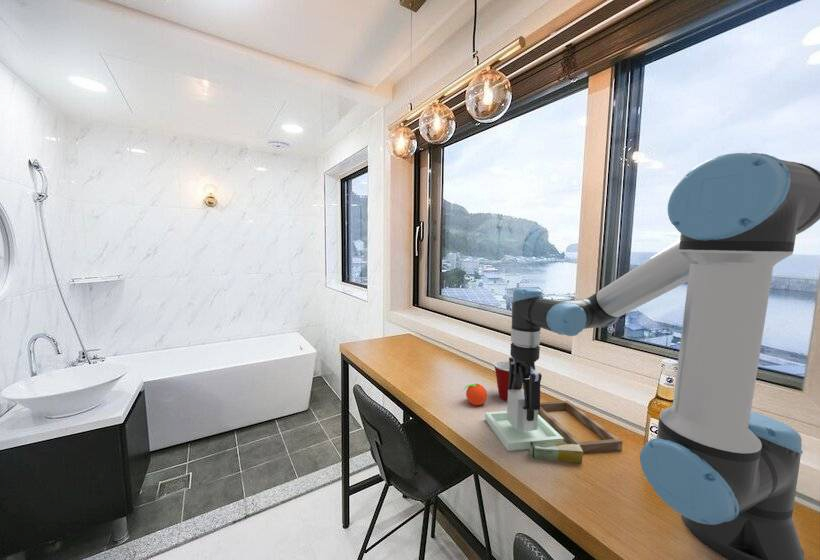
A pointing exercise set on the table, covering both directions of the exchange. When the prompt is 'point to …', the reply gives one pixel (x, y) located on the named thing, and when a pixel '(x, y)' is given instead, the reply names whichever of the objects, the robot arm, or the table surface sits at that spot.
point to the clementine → (476, 394)
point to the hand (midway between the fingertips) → (521, 423)
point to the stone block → (518, 409)
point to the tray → (520, 432)
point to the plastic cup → (502, 378)
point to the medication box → (556, 451)
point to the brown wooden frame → (589, 446)
